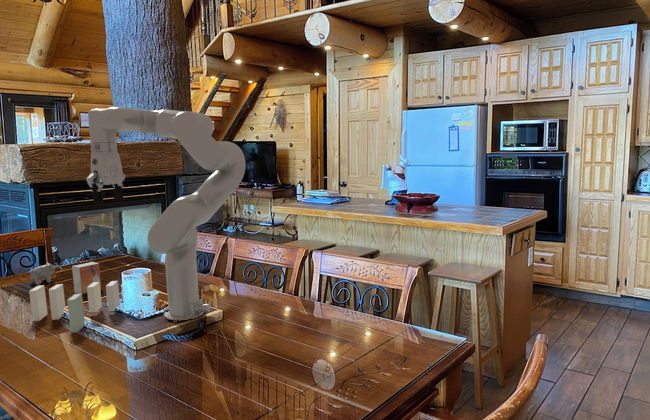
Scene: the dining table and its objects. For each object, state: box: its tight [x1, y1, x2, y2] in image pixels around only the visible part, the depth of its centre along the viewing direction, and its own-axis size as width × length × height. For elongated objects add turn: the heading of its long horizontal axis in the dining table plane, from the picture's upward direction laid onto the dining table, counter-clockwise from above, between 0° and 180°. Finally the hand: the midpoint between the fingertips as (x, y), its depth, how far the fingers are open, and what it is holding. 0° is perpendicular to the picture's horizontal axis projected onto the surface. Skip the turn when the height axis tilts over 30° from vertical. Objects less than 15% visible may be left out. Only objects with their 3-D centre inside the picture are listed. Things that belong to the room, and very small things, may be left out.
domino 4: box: [86, 282, 103, 312], centre depth 161 cm, size 2×6×10 cm, turn 7°
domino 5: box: [105, 280, 121, 312], centre depth 162 cm, size 2×6×10 cm, turn 7°
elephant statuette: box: [29, 262, 64, 286], centre depth 204 cm, size 9×12×8 cm
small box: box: [71, 261, 102, 295], centre depth 188 cm, size 8×6×10 cm
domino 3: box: [66, 293, 86, 333], centre depth 148 cm, size 2×6×10 cm, turn 7°
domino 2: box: [48, 283, 66, 321], centre depth 160 cm, size 2×6×10 cm, turn 7°
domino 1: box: [29, 284, 48, 322], centre depth 159 cm, size 2×6×10 cm, turn 7°
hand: (108, 202), depth 158 cm, fingers open, 9 cm apart
